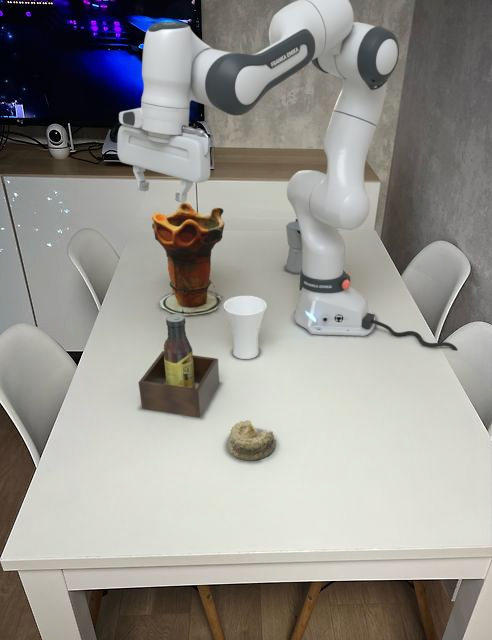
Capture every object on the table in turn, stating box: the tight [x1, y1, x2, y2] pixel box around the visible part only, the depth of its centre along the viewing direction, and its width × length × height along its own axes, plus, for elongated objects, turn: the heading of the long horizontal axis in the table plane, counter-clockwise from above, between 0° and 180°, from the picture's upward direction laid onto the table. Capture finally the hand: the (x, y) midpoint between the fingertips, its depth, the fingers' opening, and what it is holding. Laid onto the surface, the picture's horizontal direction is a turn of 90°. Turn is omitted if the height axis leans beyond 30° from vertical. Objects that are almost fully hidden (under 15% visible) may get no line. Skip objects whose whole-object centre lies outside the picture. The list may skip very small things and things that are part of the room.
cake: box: [227, 419, 277, 462], centre depth 123 cm, size 10×10×5 cm
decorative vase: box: [151, 201, 225, 317], centre depth 171 cm, size 21×23×28 cm
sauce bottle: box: [163, 313, 196, 389], centre depth 134 cm, size 7×6×20 cm
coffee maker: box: [285, 218, 302, 275], centre depth 196 cm, size 15×9×18 cm, turn 179°
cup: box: [223, 295, 268, 360], centre depth 151 cm, size 10×10×14 cm
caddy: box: [138, 350, 220, 418], centre depth 137 cm, size 14×14×7 cm
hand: (161, 195), depth 121 cm, fingers open, 8 cm apart
